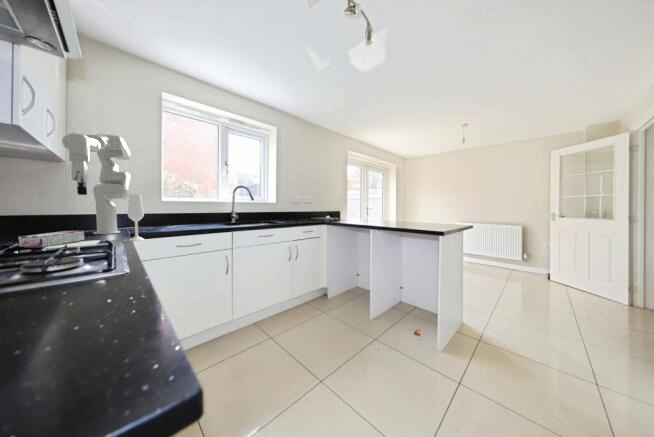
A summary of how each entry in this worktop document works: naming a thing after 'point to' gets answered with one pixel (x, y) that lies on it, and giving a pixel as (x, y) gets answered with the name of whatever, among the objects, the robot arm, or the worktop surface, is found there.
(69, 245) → the mat
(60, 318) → the worktop surface
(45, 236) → the candy bar box
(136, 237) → the champagne flute
